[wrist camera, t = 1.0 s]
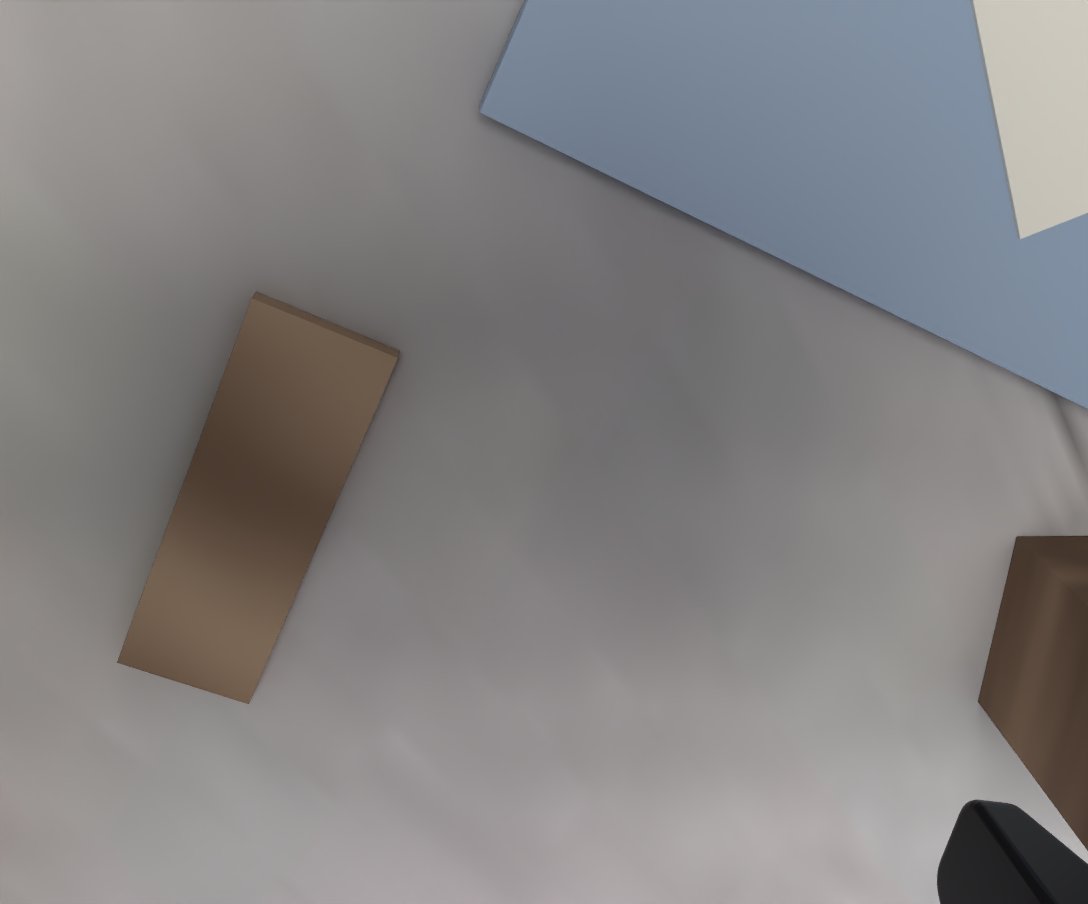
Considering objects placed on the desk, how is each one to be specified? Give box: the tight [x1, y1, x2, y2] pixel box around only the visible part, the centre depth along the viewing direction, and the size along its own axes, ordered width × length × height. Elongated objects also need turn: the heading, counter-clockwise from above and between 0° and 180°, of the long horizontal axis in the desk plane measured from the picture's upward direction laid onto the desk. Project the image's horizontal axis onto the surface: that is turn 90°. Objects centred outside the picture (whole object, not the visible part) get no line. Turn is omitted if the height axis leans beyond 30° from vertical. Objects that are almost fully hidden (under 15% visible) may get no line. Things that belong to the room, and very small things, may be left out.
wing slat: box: [117, 292, 399, 704], centre depth 22 cm, size 9×3×1 cm, turn 155°
